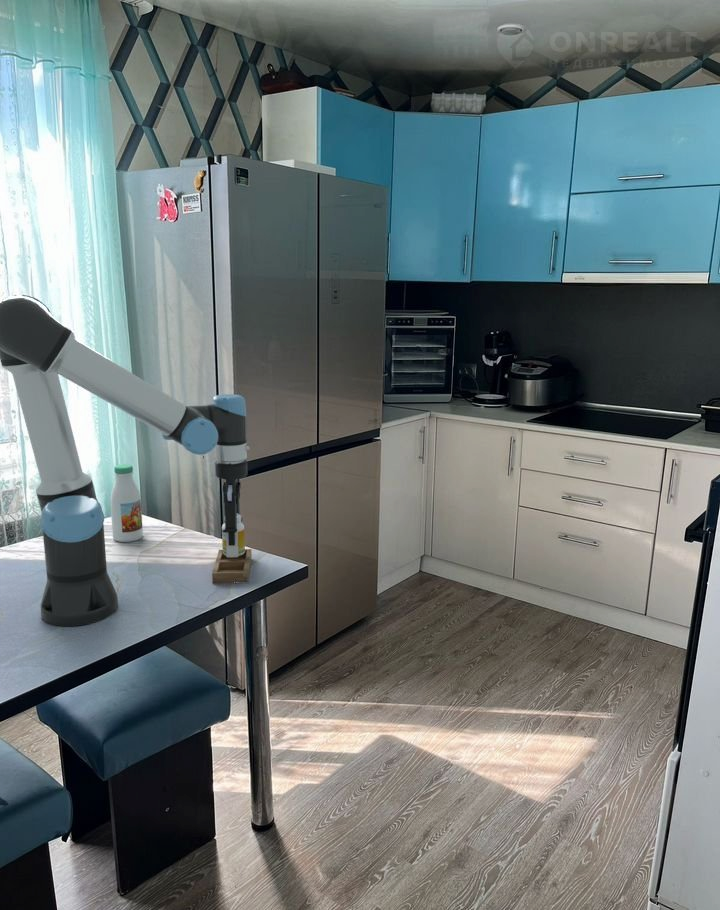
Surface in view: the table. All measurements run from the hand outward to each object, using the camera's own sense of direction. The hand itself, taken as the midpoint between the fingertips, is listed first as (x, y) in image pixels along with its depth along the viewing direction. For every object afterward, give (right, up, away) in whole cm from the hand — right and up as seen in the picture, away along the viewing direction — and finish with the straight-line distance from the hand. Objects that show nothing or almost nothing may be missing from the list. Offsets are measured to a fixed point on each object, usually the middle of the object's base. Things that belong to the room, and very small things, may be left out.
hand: (233, 551), depth 177 cm
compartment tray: (0, -4, -3) cm, 5 cm away
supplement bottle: (0, -1, 0) cm, 1 cm away
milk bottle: (-32, +1, +18) cm, 36 cm away
